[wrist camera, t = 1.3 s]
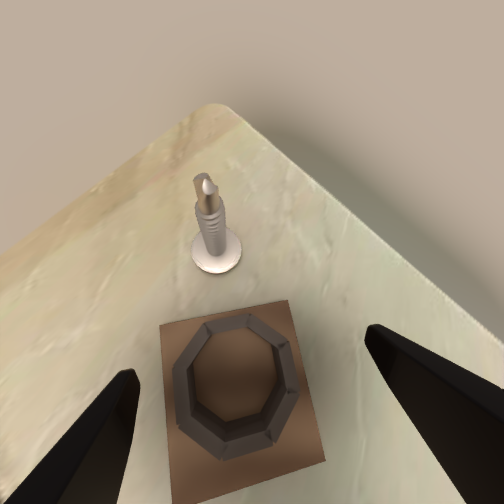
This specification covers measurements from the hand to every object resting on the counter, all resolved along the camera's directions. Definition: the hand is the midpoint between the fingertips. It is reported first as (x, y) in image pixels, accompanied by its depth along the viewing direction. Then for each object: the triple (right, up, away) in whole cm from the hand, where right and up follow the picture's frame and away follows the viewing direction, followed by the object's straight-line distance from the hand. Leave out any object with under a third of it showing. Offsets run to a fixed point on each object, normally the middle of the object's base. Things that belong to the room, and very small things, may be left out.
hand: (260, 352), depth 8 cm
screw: (-4, +3, +15) cm, 16 cm away
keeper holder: (-2, -8, +11) cm, 14 cm away
